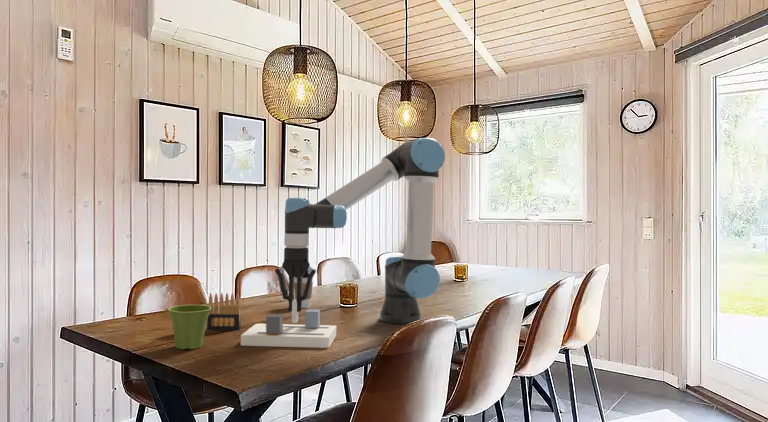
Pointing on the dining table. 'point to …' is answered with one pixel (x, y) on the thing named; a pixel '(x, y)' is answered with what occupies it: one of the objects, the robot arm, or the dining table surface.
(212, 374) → the dining table surface
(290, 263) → the robot arm
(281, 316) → the tab front
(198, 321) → the plant pot
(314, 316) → the tab back
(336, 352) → the dining table surface
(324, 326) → the switch panel
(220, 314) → the ammunition clip
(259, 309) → the dining table surface
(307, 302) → the coffee cup
